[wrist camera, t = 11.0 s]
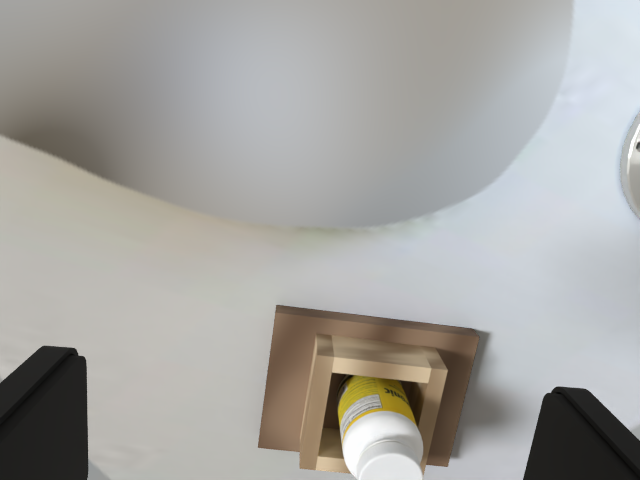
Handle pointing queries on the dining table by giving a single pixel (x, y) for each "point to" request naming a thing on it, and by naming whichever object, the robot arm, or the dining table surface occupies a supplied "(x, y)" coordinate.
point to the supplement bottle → (378, 429)
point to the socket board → (364, 360)
